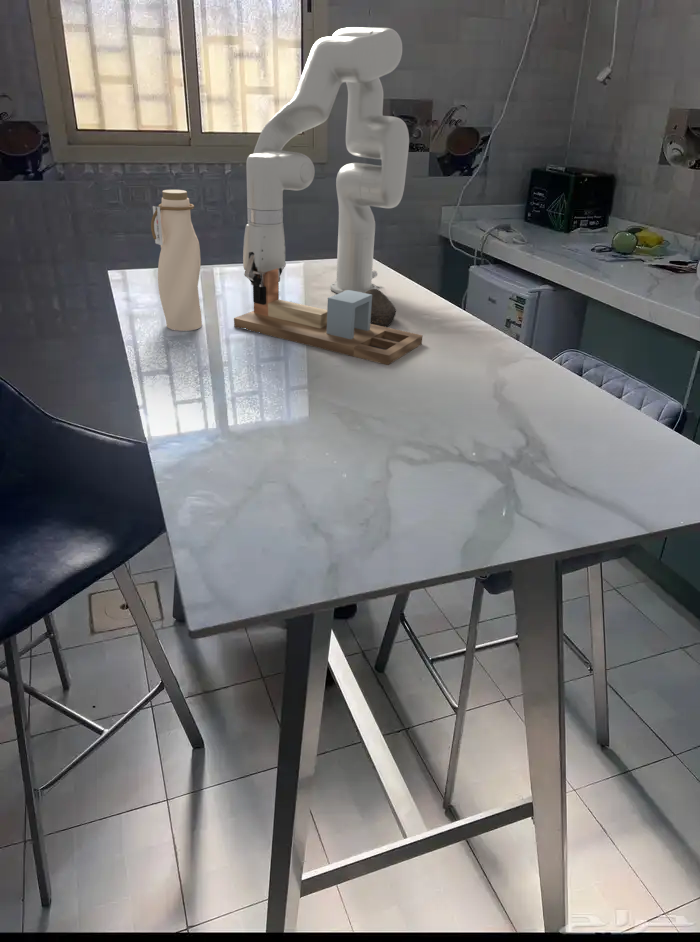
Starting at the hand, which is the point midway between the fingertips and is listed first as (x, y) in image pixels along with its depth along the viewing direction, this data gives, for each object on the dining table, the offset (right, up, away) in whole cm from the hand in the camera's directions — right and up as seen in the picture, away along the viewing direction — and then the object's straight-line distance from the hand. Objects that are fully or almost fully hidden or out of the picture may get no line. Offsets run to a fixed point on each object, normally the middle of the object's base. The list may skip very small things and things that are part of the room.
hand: (266, 300), depth 156 cm
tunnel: (+19, -9, -8) cm, 22 cm away
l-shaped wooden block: (+6, -4, -2) cm, 8 cm away
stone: (+25, -4, +7) cm, 26 cm away
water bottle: (-18, -7, -4) cm, 20 cm away
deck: (+14, -9, -5) cm, 17 cm away
